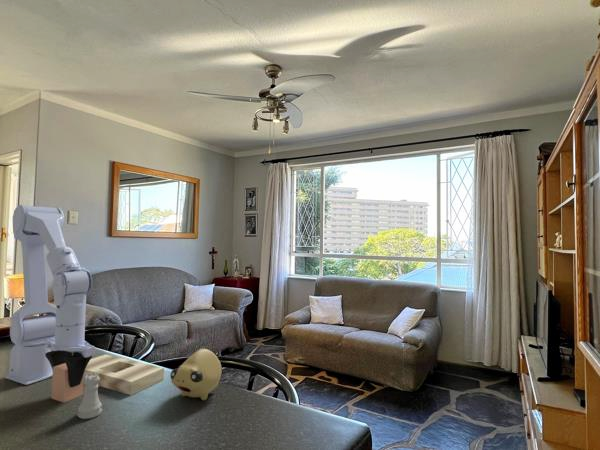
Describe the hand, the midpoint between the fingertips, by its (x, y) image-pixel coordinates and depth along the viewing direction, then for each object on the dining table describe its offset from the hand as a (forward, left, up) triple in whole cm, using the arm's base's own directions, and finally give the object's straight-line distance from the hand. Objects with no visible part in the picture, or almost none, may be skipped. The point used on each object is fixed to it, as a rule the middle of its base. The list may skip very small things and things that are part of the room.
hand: (68, 383), depth 81 cm
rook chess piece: (+12, -3, -3) cm, 13 cm away
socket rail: (+1, +12, -3) cm, 12 cm away
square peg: (0, 0, -3) cm, 3 cm away
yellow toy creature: (+26, +13, -3) cm, 29 cm away
